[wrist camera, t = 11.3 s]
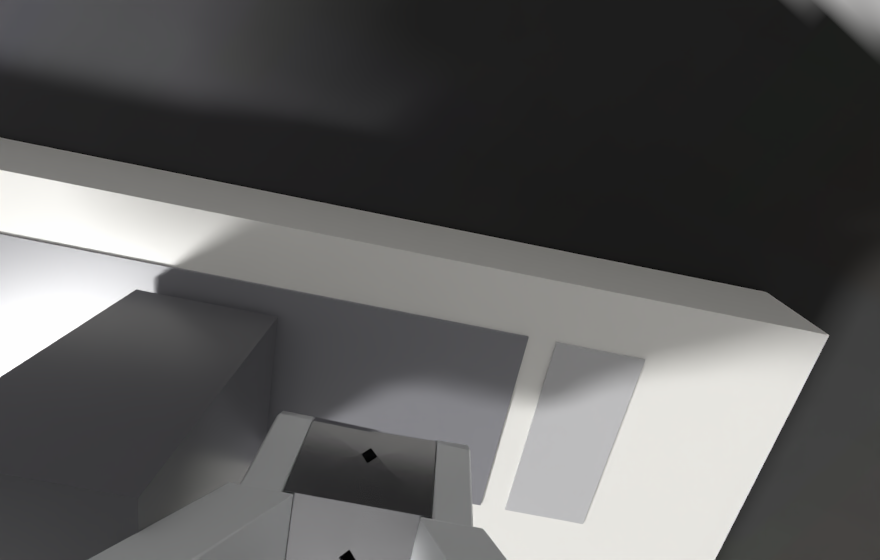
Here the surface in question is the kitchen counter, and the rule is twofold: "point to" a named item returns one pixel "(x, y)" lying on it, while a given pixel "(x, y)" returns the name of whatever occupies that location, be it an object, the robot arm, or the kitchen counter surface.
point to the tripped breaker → (129, 422)
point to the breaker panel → (439, 344)
